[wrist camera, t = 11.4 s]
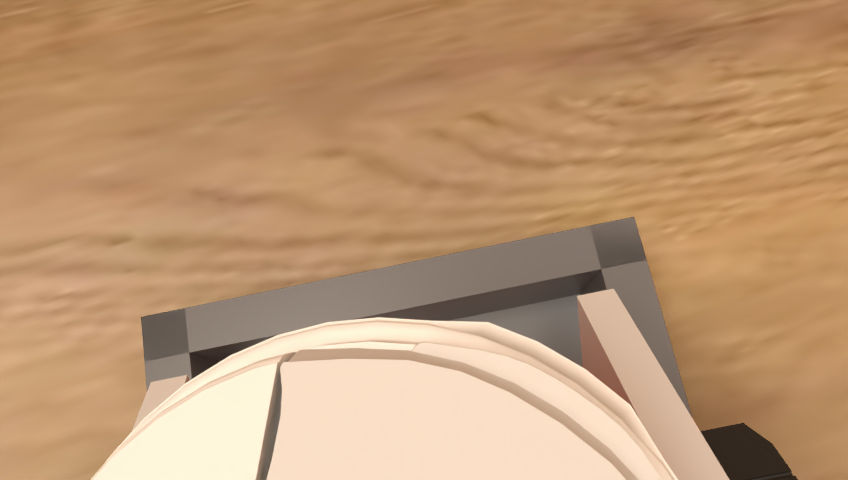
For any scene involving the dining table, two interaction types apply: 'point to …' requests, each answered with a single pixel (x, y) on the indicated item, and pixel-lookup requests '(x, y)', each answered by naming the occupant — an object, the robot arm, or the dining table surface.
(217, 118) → the dining table surface
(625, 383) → the robot arm
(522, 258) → the cup holder
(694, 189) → the dining table surface
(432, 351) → the paper cup
